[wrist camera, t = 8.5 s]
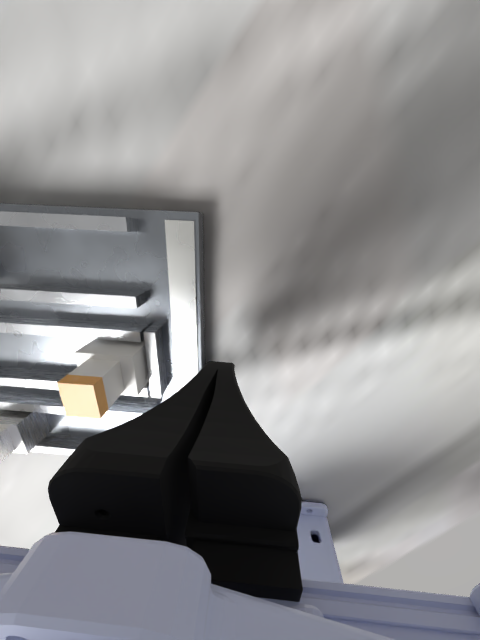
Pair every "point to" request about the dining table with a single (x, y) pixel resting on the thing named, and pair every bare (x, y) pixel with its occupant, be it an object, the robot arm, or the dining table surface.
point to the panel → (93, 311)
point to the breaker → (103, 377)
